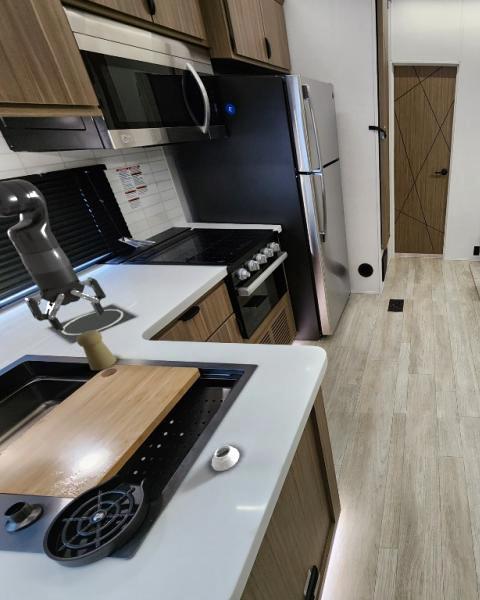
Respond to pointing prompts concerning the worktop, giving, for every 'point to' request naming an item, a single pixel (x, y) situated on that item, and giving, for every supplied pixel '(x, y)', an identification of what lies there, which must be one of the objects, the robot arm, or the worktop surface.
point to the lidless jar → (225, 458)
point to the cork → (95, 350)
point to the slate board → (93, 322)
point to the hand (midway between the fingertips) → (81, 321)
